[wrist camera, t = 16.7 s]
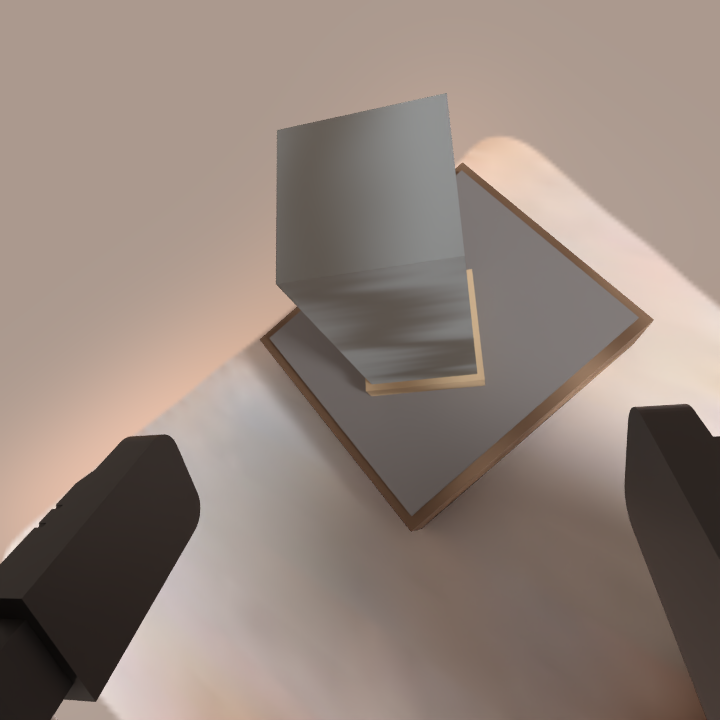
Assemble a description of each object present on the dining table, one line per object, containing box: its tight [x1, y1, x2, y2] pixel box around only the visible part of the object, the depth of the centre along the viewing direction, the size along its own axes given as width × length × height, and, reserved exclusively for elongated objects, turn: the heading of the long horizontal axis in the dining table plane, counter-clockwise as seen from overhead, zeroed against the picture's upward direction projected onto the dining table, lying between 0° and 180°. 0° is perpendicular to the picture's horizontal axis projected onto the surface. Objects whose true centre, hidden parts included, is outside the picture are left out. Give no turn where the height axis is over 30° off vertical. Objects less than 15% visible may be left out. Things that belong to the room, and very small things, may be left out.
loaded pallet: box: [276, 93, 485, 396], centre depth 20 cm, size 6×6×13 cm
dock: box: [260, 163, 653, 531], centre depth 28 cm, size 15×13×4 cm
